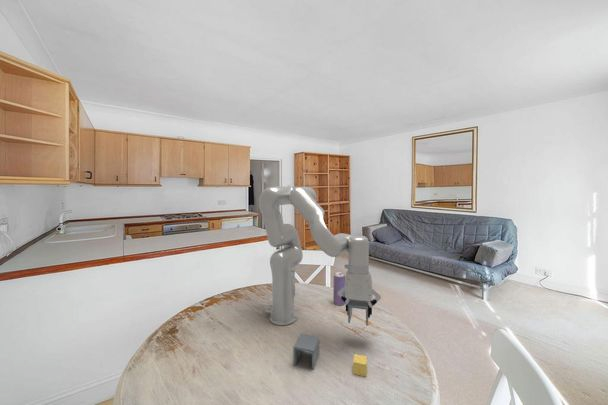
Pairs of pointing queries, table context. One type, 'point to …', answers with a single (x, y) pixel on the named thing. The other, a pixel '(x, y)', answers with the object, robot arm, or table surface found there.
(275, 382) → the table surface
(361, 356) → the cube
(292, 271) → the plastic bottle
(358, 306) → the right cover
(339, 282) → the beverage can
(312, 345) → the left cover
